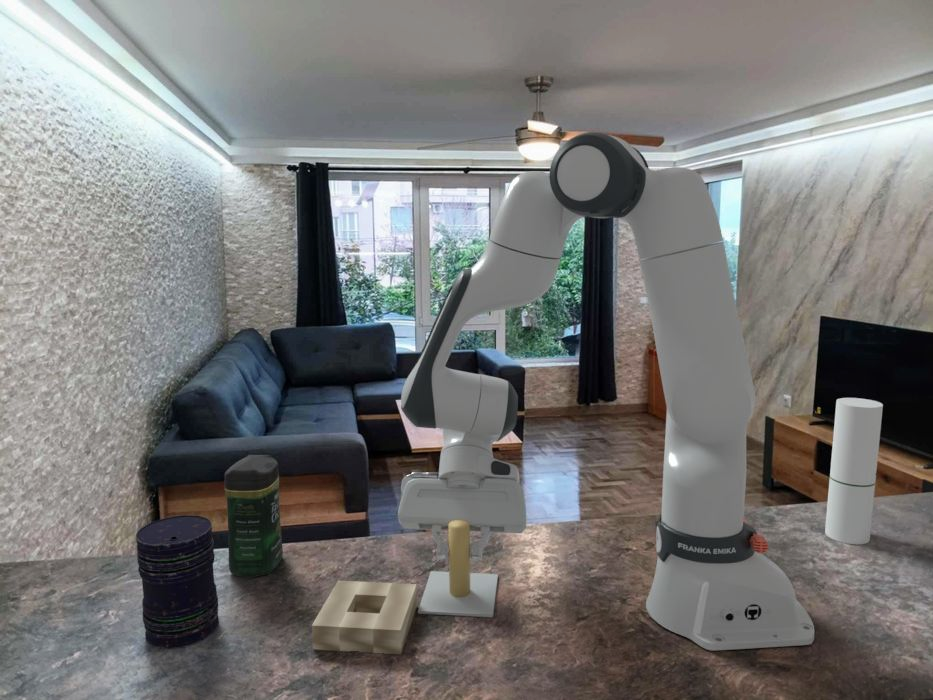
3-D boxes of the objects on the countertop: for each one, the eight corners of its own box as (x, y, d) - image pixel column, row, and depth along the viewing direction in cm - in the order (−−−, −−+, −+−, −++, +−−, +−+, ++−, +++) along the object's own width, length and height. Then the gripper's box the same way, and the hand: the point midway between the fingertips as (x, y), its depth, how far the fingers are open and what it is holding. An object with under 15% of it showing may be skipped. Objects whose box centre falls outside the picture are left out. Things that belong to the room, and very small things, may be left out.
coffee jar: (272, 580, 110) (265, 470, 107) (223, 579, 110) (215, 469, 107) (289, 552, 120) (283, 450, 117) (244, 552, 120) (237, 450, 117)
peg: (471, 586, 107) (470, 520, 105) (469, 597, 104) (468, 529, 102) (451, 585, 107) (449, 519, 105) (448, 596, 104) (447, 528, 102)
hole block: (417, 605, 102) (416, 584, 102) (400, 654, 90) (400, 630, 90) (338, 601, 103) (337, 580, 103) (313, 649, 92) (311, 625, 91)
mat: (497, 576, 111) (497, 574, 111) (492, 617, 99) (492, 614, 99) (430, 573, 112) (430, 571, 112) (418, 613, 100) (417, 610, 100)
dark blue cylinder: (147, 617, 100) (138, 520, 97) (219, 604, 103) (212, 510, 100) (141, 656, 90) (131, 550, 88) (220, 640, 94) (212, 538, 91)
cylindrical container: (870, 532, 126) (883, 400, 122) (868, 547, 120) (882, 409, 116) (826, 524, 130) (838, 396, 125) (823, 538, 124) (834, 404, 119)
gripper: (400, 463, 110) (388, 547, 102) (527, 466, 108) (525, 553, 100) (405, 479, 115) (395, 561, 107) (527, 483, 113) (525, 566, 105)
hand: (459, 557), depth 104 cm, fingers open, 4 cm apart
